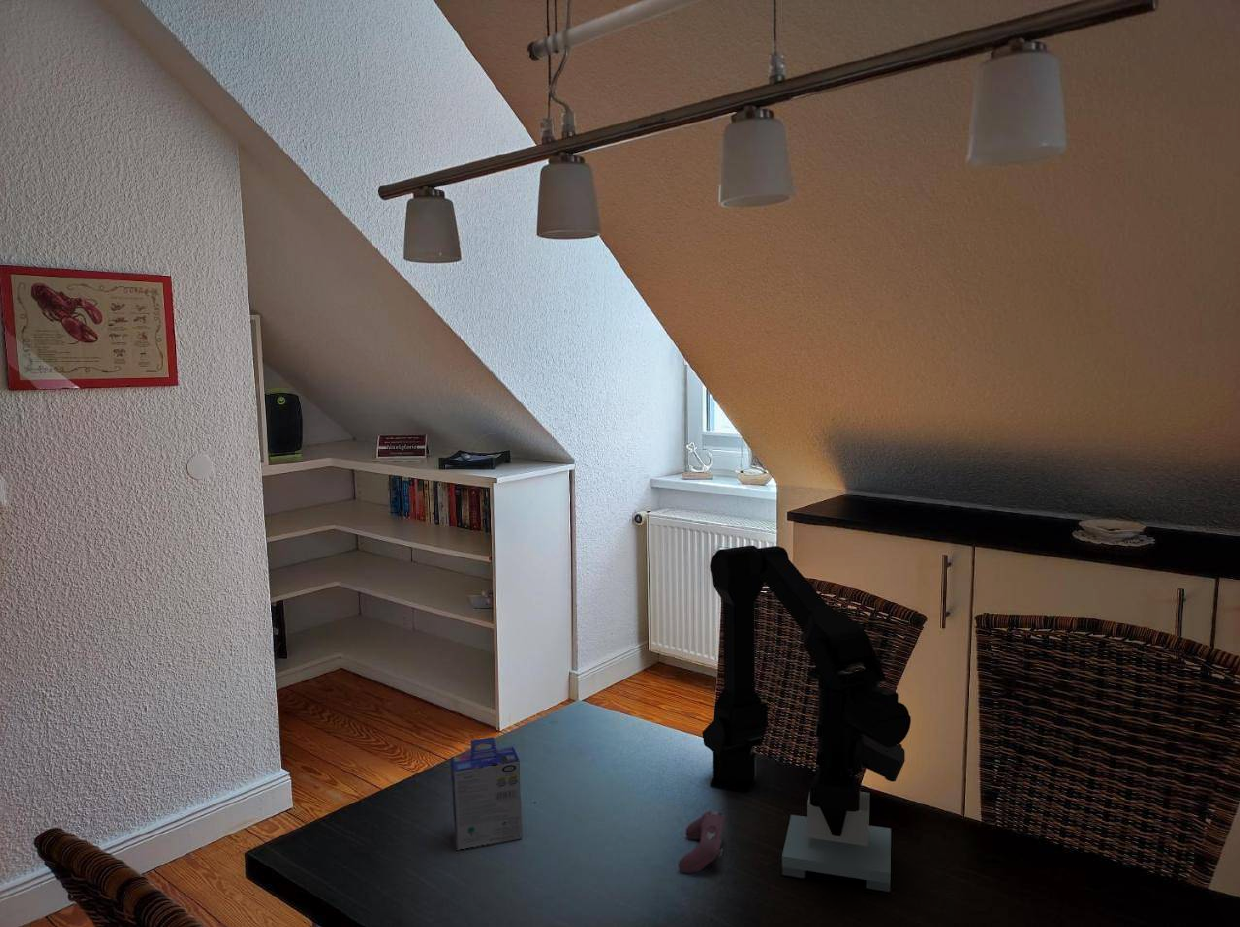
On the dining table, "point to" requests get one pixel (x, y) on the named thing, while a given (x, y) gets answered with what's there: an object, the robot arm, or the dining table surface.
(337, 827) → the dining table surface
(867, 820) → the grey housing
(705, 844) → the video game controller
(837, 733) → the robot arm
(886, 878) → the teal stand
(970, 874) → the dining table surface
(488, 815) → the ink cartridge box
